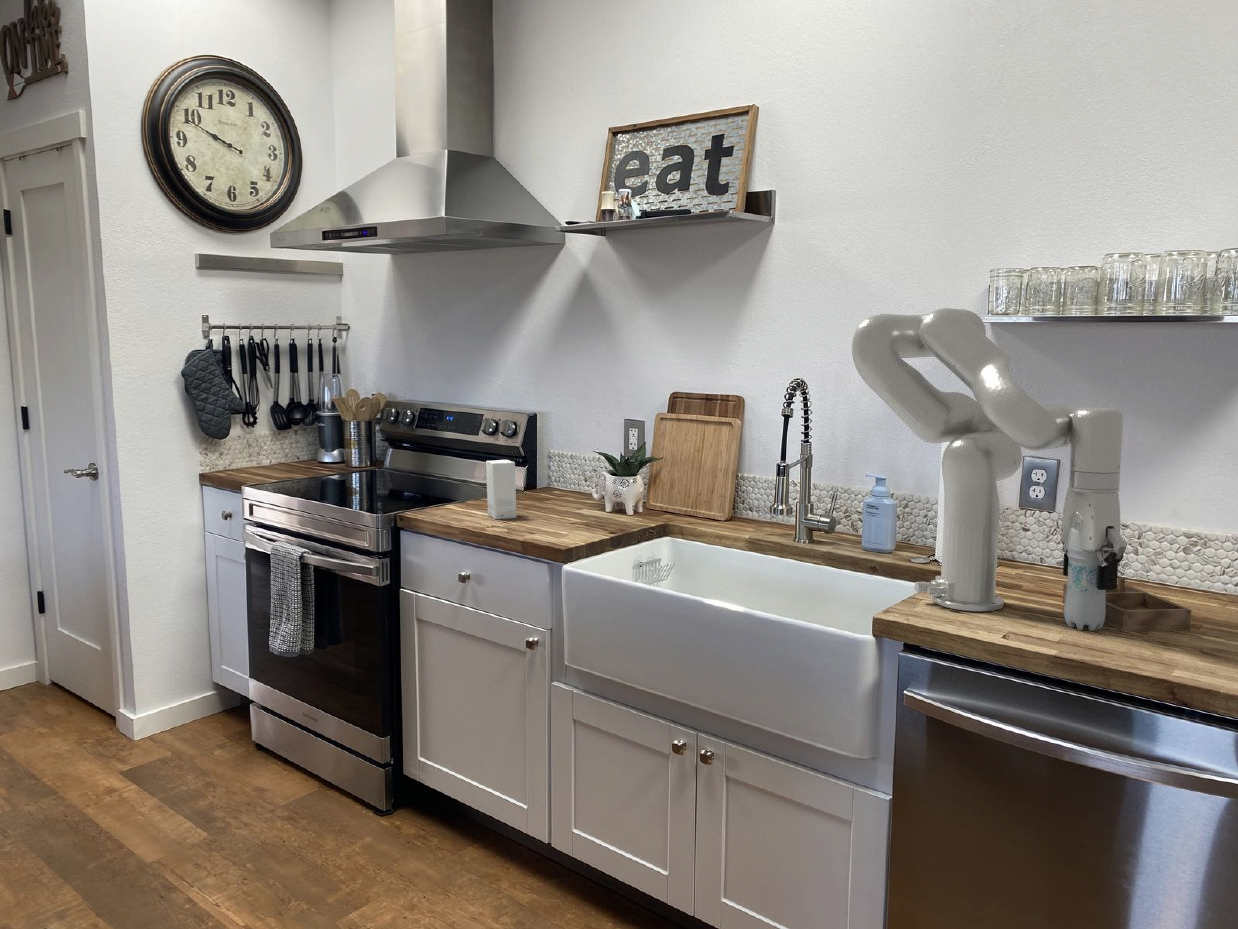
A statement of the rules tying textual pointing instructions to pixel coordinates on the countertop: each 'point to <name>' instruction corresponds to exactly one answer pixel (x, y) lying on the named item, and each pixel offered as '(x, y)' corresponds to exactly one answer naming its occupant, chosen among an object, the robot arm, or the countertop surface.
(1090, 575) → the bottle
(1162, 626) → the tray
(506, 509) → the skincare box
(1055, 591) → the countertop surface
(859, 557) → the countertop surface
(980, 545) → the robot arm
